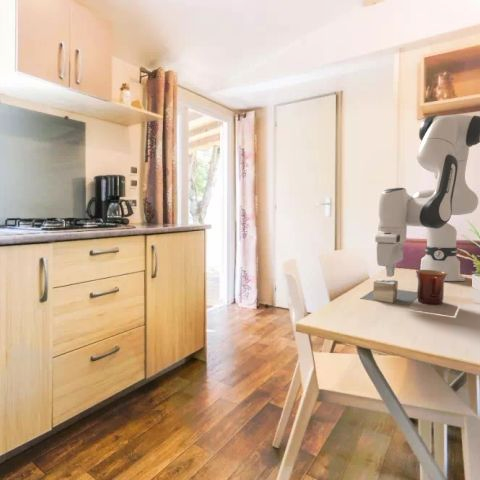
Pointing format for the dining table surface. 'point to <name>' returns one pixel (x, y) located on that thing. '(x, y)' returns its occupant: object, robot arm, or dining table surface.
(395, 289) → the letter block
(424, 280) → the mug
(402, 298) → the mat
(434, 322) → the dining table surface
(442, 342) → the dining table surface
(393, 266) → the robot arm
